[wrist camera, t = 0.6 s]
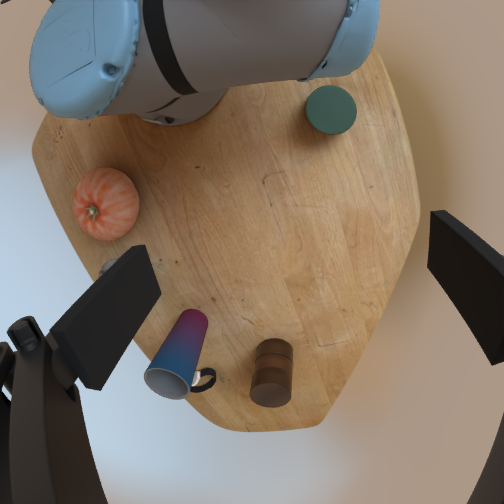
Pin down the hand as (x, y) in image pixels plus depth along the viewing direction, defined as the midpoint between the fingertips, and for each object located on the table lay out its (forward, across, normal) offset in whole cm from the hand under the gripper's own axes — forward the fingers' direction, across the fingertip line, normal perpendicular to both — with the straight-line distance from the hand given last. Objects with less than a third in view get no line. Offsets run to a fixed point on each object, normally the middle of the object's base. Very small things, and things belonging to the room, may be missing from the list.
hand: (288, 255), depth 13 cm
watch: (+25, -21, -39) cm, 51 cm away
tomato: (+28, -26, 0) cm, 38 cm away
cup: (+28, -19, -24) cm, 41 cm away
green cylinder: (+28, +6, +6) cm, 29 cm away
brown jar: (+28, -6, -32) cm, 43 cm away
